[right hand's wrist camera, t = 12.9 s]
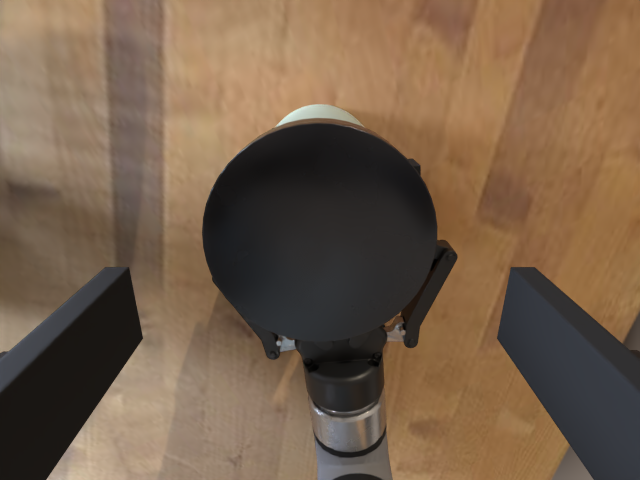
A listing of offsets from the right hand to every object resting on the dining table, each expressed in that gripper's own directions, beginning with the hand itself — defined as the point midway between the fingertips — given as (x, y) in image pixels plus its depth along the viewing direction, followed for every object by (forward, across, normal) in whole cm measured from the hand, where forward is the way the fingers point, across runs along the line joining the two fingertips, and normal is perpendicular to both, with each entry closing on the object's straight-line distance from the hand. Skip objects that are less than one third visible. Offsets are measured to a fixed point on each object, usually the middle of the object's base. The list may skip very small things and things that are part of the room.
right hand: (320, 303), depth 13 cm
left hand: (+19, 0, 0) cm, 19 cm away
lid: (+6, 0, 0) cm, 6 cm away
